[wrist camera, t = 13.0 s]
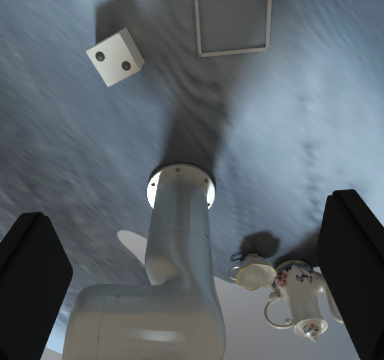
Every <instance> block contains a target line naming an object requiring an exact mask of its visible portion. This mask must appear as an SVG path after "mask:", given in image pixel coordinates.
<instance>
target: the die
mask: <svg viewBox="0 0 384 360" xmlns="http://www.w3.org/2000/svg"><path fill="white" fill-rule="evenodd" d="M86 53H87V54H88V56H89V58H90V59H91V61H92V62H93V64H94V66H95V67H96V69H97V70H98V72H99V73H100V75H101V77H102V78H103V80H104V81H105V83H106V84H107V86H108V87H109V86H111V85H113V84H115V83H117V82H119V81H121V80H123V79H125V78H127V77H129V76H131V75H133V74H135V73H137V72H138V71H140V70H141V68H142V66H143V64H144V62H145V61H144V59H143V58H142V56H141V54H140V52H139V50H138V48H137V46H136V45H135V43H134V41H133V39H132V37H131V35H130V33H129V32H128V30H127V28H126V27H125V28H123V29H122V30H120V31H118V32H116V33H115V34H113V35H111V36H109V37H107V38H106V39H104V40H102V41H100V42H99V43H97V44H95V45H94V46H92V47H91V48H90V49H88V50H87V51H86Z"/></svg>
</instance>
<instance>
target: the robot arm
mask: <svg viewBox="0 0 384 360" xmlns="http://www.w3.org/2000/svg"><path fill="white" fill-rule="evenodd" d="M147 197H148V200H149V203H150V205H151V206H152V207H153V210H152V216H151V223H150V229H149V235H148V242H147V248H146V254H145V269H146V272H147V276H148V278H149V280H150V282H151V284H152V285H123V284H96V285H91V286H88V287H86V288H85V289H83V290H82V291H81V292H80V293H79V294H78V295H77V297H76V298H75V300H74V302H73V305H72V307H71V311H70V314H69V318H68V322H67V327H66V333H65V340H64V347H63V354H62V360H223V357H224V353H225V348H226V331H225V324H224V319H223V315H222V311H221V307H220V304H219V300H218V296H217V292H216V288H215V282H214V276H213V267H212V255H211V241H210V228H209V215H208V209H209V208H210V207H211V205H212V204H213V202H214V199H215V186H214V183H213V181H212V179H211V177H210V176H209V175H208V174H207V173H206V172H205V171H204V170H202V169H201V168H199V167H197V166H194V165H191V164H186V163H175V164H170V165H167V166H164V167H162V168H161V169H159V170H158V171H157V172H155V173H154V174H153V176H152V177H151V179H150V181H149V183H148V188H147ZM316 259H317V263H318V265H319V267H320V270H321V272H322V274H323V276H324V279H325V281H326V283H327V285H328V288H329V290H330V292H331V294H332V297H333V299H334V301H335V304H336V306H337V308H338V310H339V313H340V315H341V317H342V319H343V322H344V324H345V326H346V328H347V331H348V333H349V335H350V337H351V340H352V342H353V344H354V346H355V349H356V351H357V353H358V356H359V358H360V359H361V360H384V227H383V226H382V224H381V223H380V222H379V220H378V219H377V218H376V217H375V215H374V214H373V213H372V211H371V210H370V209H369V207H368V206H367V205H366V204H365V202H364V201H363V200H362V198H361V197H360V196H359V194H358V193H357V192H356V191H355V190H353V189H348V190H336V191H334V192H333V194H332V195H329V196H328V197H327V200H326V205H325V210H324V215H323V220H322V225H321V230H320V234H319V239H318V244H317V249H316ZM72 276H73V269H72V266H71V264H70V262H69V260H68V257H67V255H66V253H65V251H64V249H63V247H62V245H61V242H60V240H59V238H58V236H57V234H56V232H55V230H54V227H53V225H52V223H51V221H50V219H49V217H48V216H44V214H43V213H42V212H31V213H23V214H21V215H20V216H19V217H18V219H17V220H16V222H15V223H14V224H13V226H12V227H11V229H10V230H9V231H8V233H7V234H6V236H5V237H4V239H3V240H2V241H1V243H0V360H40V359H41V356H42V354H43V351H44V348H45V346H46V343H47V341H48V338H49V336H50V333H51V331H52V328H53V325H54V323H55V320H56V318H57V315H58V313H59V310H60V307H61V305H62V302H63V300H64V297H65V295H66V292H67V290H68V287H69V284H70V282H71V279H72Z"/></svg>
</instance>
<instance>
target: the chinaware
mask: <svg viewBox="0 0 384 360" xmlns="http://www.w3.org/2000/svg"><path fill="white" fill-rule="evenodd" d="M244 258H245V259H244V260H243V261H242V262H240V266H238V267H233V268H231V269H230V271H229V276H230V278H231V279H233V280H235V282H236V283H237V284H239V285H243V287H245V288H246V289H248V290H250V291H251V290H256V289H258V288H260V286H261V287H265V288H266V287H269V286H271V288H272V290H273V291H274V292H272V293H270V295H269V299H270V300H271V301H270V302H269V303H268V304H267V305H266V307H265V310H264V315H265V318H266V320H267V322H268V323H269V324H270V325H271V326H272V327H274V328H277V329H287V328H290V327H292V326H293V324H294V331H295V333H296V334H298V335H299V336H305V337H309V338H310V339H311V340H313V341H314V342H317V339H318V336H319V335H320V333H322V332H324V331H325V330H326V329H327V326H328V324H327V322H326V321H324V319H323V317H322V316H321V314H320V310H319V307H318V301H317V293H319V292H323V293H325V294H326V297H327V301H328V305H329V308H330V311H331V314H332V316H333V317H334V318H335V319H336V320H337V321H338V322H340V323H343V324H344V322H343V319H342V317H341V316H340V314H339V310H338V308H337V306H336V304H335V301H334V299H333V297H332V294H331V292H330V290H329V288H328V285H327V283H326V281H325V279H324V276H323V274H320V273H318V272H315V271H314V270H313V268H312V267H311V266H309V265H308V264H307V263H306V262H304V261H301V260H290V261H286V262H283V263H281V264H280V265H278V266H277V267H276V269H274V268H273V267H272V266H270V264H269V263H268V262H267V260H265V259H264V258H262V257H260V256H258V254H251V253H250V254H249V255H248V256H246V257H244ZM235 268H239V270H238V273H237V275H236V276H235V277H236V278H232V277H231V275H230V272H231V271H232V270H233V269H235ZM321 273H322V272H321ZM277 297H278V298H277ZM276 298H277V299H276ZM281 298H282V299H283V300H284V302H285V303H286V304H287V306H288V308H289V309H290V311H291V314H292V317H293V320H294V321H293V320H291V319H289V318H286V319H285V322H286V324H290V321H291V322H292V323H291V324H290V325H276V324H274V323H272V322H271V321H270V320H269V319H268V316H267V310H268V308H269V306H270V305H271V304H273V303H274V302H277V301H279V300H280V299H281Z"/></svg>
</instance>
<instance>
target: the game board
mask: <svg viewBox="0 0 384 360" xmlns="http://www.w3.org/2000/svg"><path fill="white" fill-rule="evenodd" d="M194 4H195V18H196V32H197V45H198V58H199V57H210V56H220V55H231V54H242V53H252V52H263V51H269V44H270V24H271V5H272V0H267V16H266V39H265V47H259V48H248V49H238V50H227V51H217V52H206V53H202V51H201V36H200V21H199V6H198V0H194Z"/></svg>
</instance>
